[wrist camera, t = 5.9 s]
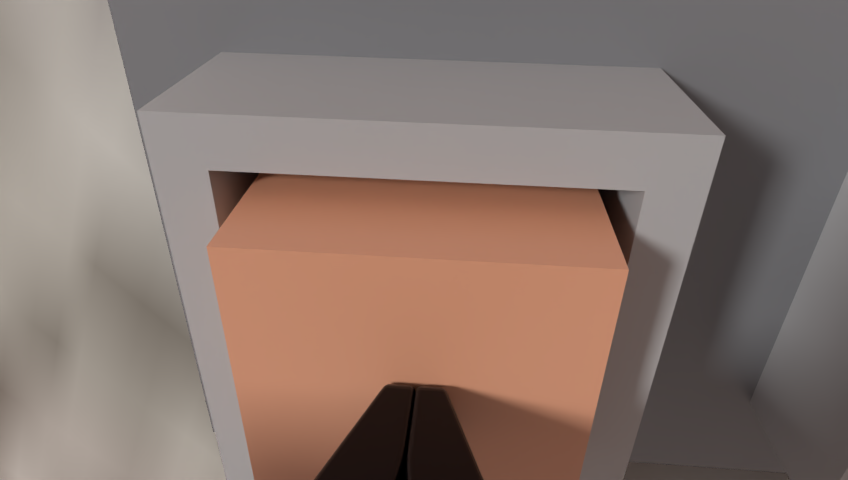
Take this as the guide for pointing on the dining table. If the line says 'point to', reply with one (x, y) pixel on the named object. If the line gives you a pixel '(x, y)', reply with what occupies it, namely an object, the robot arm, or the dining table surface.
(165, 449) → the dining table surface
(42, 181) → the dining table surface
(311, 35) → the key panel
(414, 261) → the key terracotta
